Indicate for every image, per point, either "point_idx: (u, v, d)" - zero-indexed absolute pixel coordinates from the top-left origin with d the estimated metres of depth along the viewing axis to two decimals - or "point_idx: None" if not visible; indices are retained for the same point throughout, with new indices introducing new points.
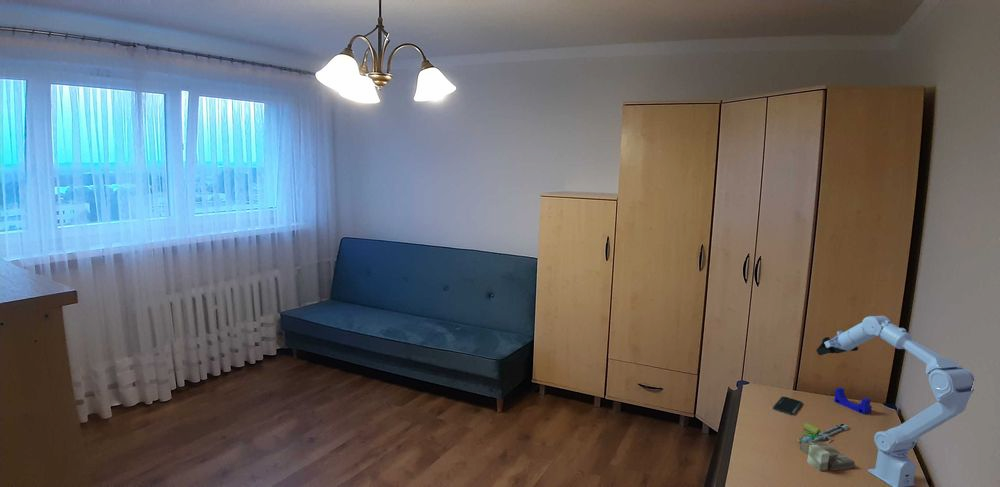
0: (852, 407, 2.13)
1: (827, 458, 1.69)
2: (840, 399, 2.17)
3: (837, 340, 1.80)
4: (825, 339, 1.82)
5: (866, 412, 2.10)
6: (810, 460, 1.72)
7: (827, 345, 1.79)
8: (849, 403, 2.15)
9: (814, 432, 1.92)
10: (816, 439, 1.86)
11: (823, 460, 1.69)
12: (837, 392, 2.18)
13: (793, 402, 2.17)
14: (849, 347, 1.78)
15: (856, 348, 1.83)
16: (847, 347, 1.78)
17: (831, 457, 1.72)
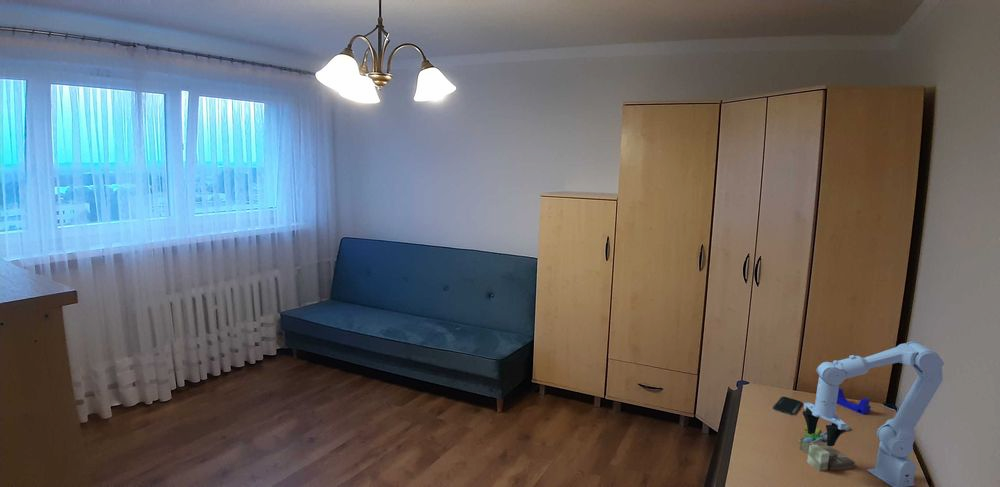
0: (851, 407, 2.13)
1: (827, 458, 1.69)
2: (839, 399, 2.17)
3: (830, 418, 1.66)
4: (832, 428, 1.63)
5: (865, 412, 2.09)
6: (810, 460, 1.72)
7: (844, 427, 1.62)
8: (848, 404, 2.15)
9: (815, 433, 1.91)
10: (817, 440, 1.86)
11: (823, 460, 1.69)
12: None
13: (793, 402, 2.17)
14: None
15: None
16: None
17: (831, 457, 1.72)
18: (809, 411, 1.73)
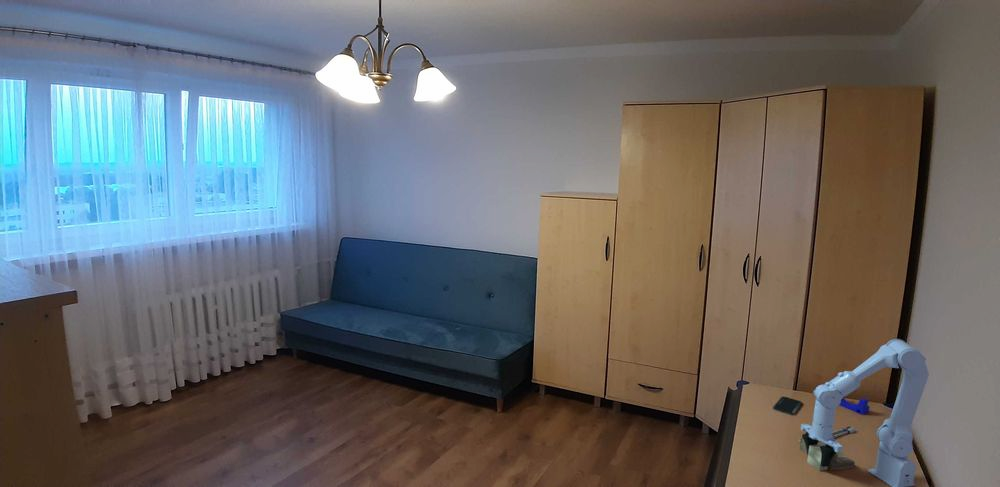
0: (850, 407, 2.13)
1: None
2: None
3: (827, 440, 1.67)
4: (826, 449, 1.65)
5: (864, 412, 2.09)
6: (810, 460, 1.72)
7: (840, 450, 1.63)
8: (846, 404, 2.15)
9: None
10: None
11: None
12: None
13: (793, 402, 2.17)
14: None
15: None
16: None
17: None
18: (809, 434, 1.74)
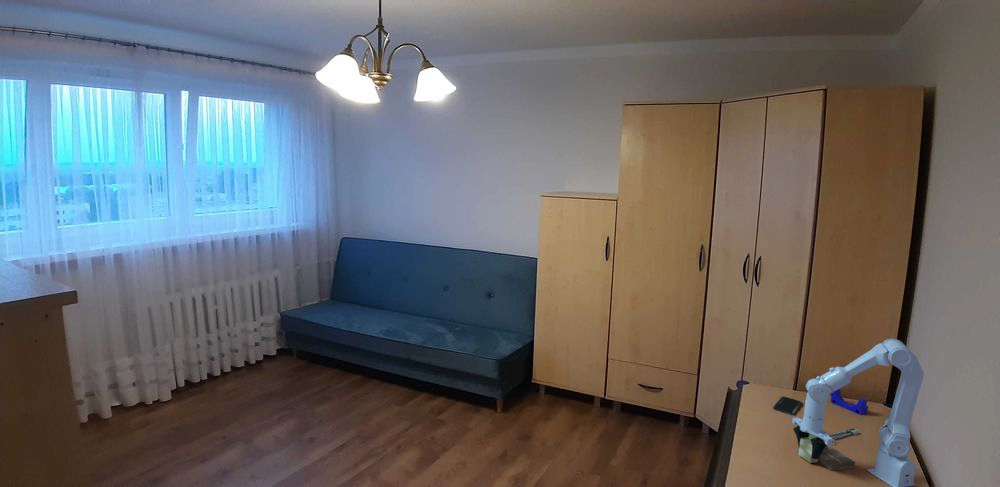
0: (849, 408, 2.12)
1: None
2: (836, 400, 2.17)
3: (817, 433, 1.70)
4: (817, 441, 1.69)
5: (863, 412, 2.09)
6: (801, 452, 1.76)
7: (831, 442, 1.67)
8: (845, 404, 2.14)
9: None
10: None
11: None
12: (833, 393, 2.18)
13: (793, 402, 2.17)
14: None
15: None
16: None
17: None
18: (800, 427, 1.77)
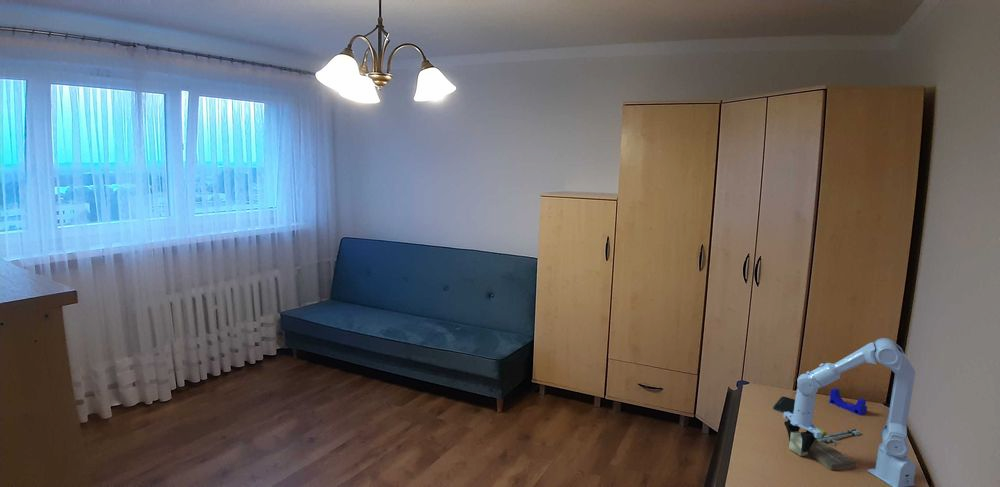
0: (848, 408, 2.12)
1: None
2: (835, 400, 2.16)
3: (807, 426, 1.75)
4: (806, 435, 1.73)
5: (862, 412, 2.09)
6: (792, 446, 1.80)
7: (820, 435, 1.71)
8: (844, 404, 2.14)
9: None
10: None
11: None
12: (832, 393, 2.17)
13: (793, 402, 2.17)
14: None
15: None
16: None
17: None
18: (790, 421, 1.81)
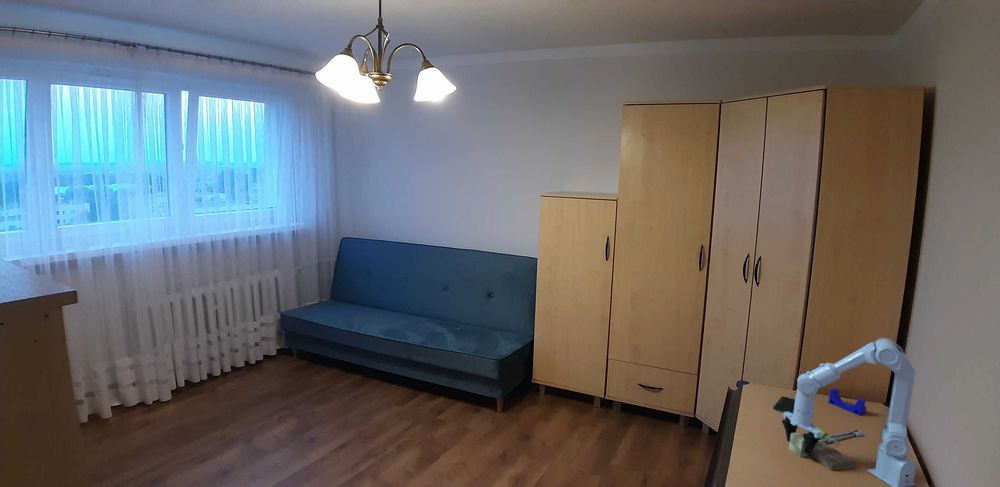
0: (847, 408, 2.12)
1: None
2: (835, 400, 2.16)
3: (807, 426, 1.75)
4: (809, 436, 1.72)
5: (861, 413, 2.09)
6: (792, 447, 1.80)
7: (820, 435, 1.71)
8: (843, 404, 2.14)
9: None
10: None
11: None
12: (831, 393, 2.17)
13: (793, 402, 2.17)
14: None
15: None
16: None
17: None
18: (788, 420, 1.82)
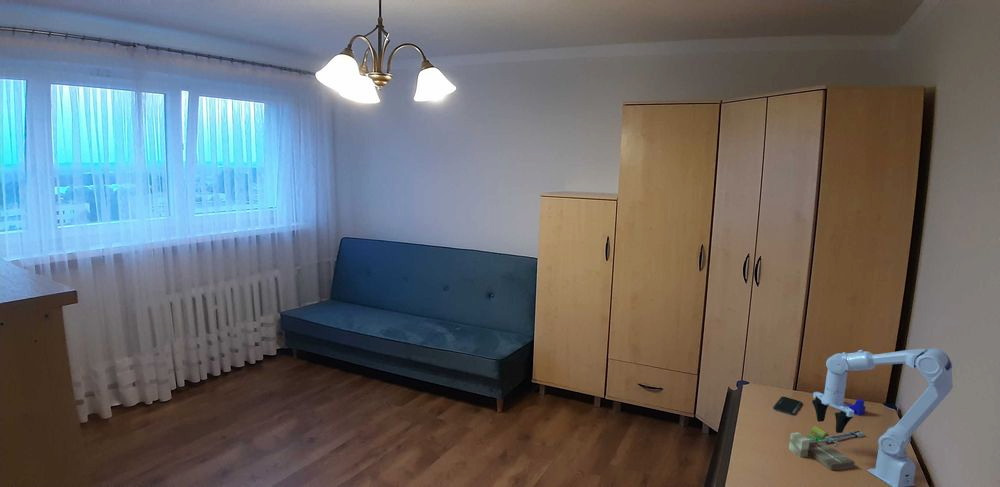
0: None
1: (807, 445, 1.77)
2: None
3: (839, 406, 1.74)
4: (841, 415, 1.72)
5: (860, 413, 2.09)
6: (792, 447, 1.80)
7: (852, 414, 1.71)
8: None
9: (821, 435, 1.90)
10: None
11: (804, 447, 1.76)
12: None
13: (793, 402, 2.17)
14: None
15: None
16: None
17: (811, 444, 1.79)
18: (818, 400, 1.82)
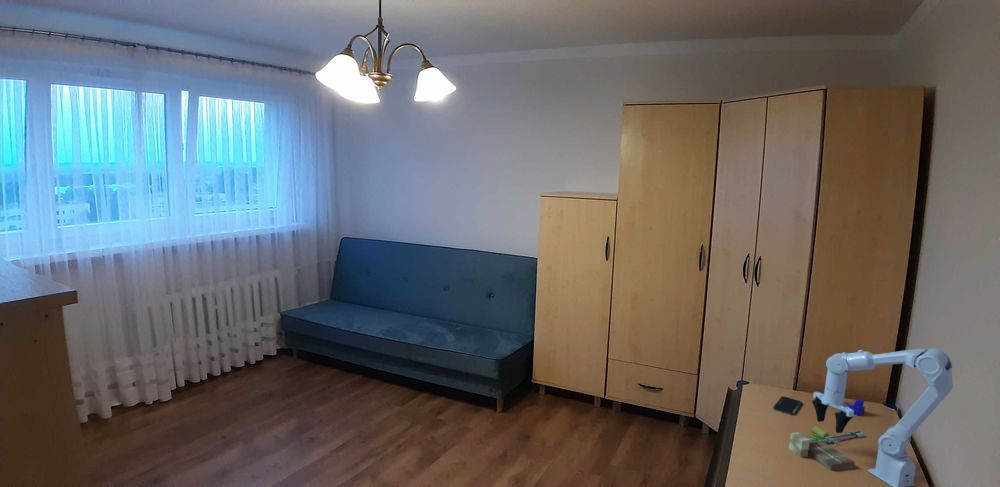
0: None
1: (807, 445, 1.77)
2: None
3: (839, 406, 1.74)
4: (841, 415, 1.72)
5: (860, 413, 2.08)
6: (792, 447, 1.80)
7: (852, 414, 1.71)
8: None
9: (821, 435, 1.90)
10: None
11: (804, 447, 1.76)
12: None
13: (793, 402, 2.17)
14: None
15: None
16: None
17: (811, 444, 1.79)
18: (818, 400, 1.82)
